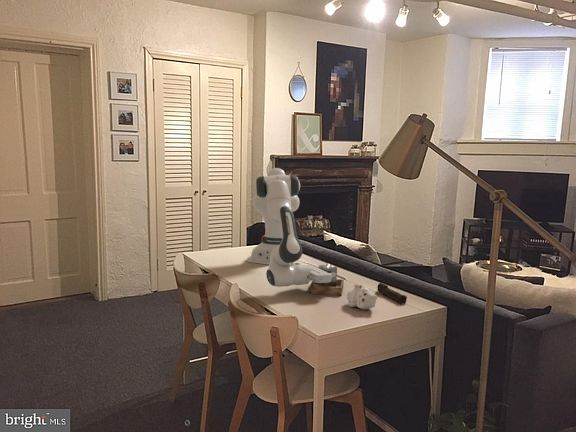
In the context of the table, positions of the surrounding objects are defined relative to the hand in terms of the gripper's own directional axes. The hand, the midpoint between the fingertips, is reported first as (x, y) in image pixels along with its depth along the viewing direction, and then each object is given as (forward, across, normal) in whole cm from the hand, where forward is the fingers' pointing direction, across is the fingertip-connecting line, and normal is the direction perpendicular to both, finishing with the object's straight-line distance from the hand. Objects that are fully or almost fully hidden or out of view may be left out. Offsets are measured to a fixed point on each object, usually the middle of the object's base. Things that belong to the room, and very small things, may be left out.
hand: (329, 271), depth 217 cm
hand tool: (+19, -19, +9) cm, 29 cm away
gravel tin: (-1, 0, +8) cm, 8 cm away
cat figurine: (0, -26, +9) cm, 28 cm away
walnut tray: (-1, 0, +8) cm, 9 cm away
